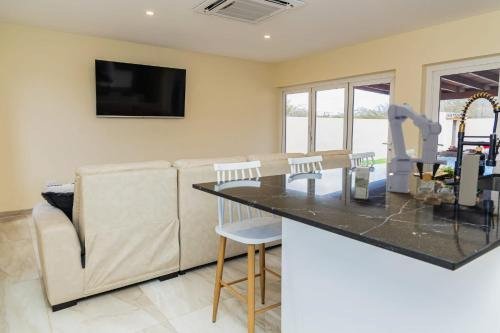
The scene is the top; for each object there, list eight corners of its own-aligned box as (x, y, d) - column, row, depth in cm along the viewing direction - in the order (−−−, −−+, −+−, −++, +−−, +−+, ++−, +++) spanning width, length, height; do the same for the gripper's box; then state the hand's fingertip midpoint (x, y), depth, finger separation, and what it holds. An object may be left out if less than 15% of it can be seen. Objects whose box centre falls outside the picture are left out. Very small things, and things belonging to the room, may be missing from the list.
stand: (422, 203, 147) (423, 198, 147) (424, 200, 153) (425, 195, 152) (439, 205, 144) (440, 200, 144) (441, 202, 149) (441, 197, 149)
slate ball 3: (439, 196, 157) (440, 187, 156) (440, 195, 160) (441, 186, 159) (449, 197, 154) (450, 188, 154) (450, 196, 158) (451, 187, 157)
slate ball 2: (438, 198, 152) (439, 189, 152) (439, 196, 156) (440, 188, 155) (449, 199, 150) (449, 190, 150) (449, 198, 154) (450, 189, 153)
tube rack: (413, 198, 156) (413, 190, 155) (417, 194, 167) (417, 186, 166) (454, 203, 147) (454, 194, 147) (455, 198, 158) (456, 189, 158)
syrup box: (368, 197, 158) (370, 166, 156) (367, 199, 153) (368, 167, 151) (355, 196, 160) (357, 165, 159) (353, 198, 155) (355, 166, 153)
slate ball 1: (420, 194, 161) (420, 186, 160) (421, 193, 164) (422, 184, 164) (429, 195, 159) (430, 187, 158) (430, 194, 162) (431, 185, 162)
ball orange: (421, 181, 154) (422, 173, 153) (422, 180, 157) (423, 172, 157) (431, 182, 152) (432, 173, 151) (432, 181, 155) (432, 172, 155)
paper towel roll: (469, 206, 141) (474, 155, 139) (455, 203, 147) (459, 153, 144) (479, 205, 145) (484, 154, 142) (465, 202, 150) (469, 153, 147)
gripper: (410, 149, 153) (407, 179, 155) (447, 151, 145) (444, 182, 147) (412, 148, 159) (410, 177, 161) (448, 150, 151) (445, 180, 153)
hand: (426, 179), depth 154 cm, fingers closed on ball orange, 4 cm apart
